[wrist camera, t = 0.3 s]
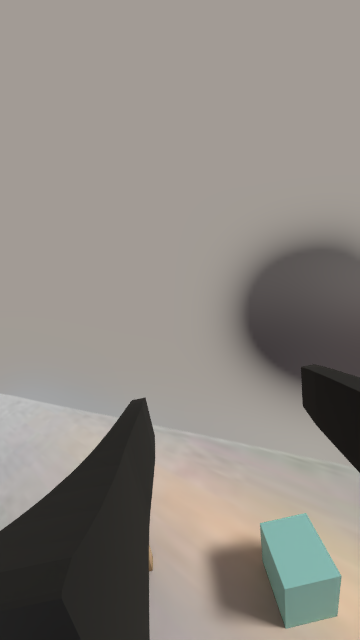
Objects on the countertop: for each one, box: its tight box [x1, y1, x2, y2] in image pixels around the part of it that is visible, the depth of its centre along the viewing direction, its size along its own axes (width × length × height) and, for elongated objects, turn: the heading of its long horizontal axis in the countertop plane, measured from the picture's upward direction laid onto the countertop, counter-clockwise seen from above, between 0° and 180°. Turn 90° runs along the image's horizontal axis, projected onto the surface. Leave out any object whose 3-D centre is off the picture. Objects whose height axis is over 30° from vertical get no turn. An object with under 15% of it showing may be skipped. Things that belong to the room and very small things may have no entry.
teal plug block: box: [260, 513, 341, 629], centre depth 19 cm, size 4×4×5 cm
